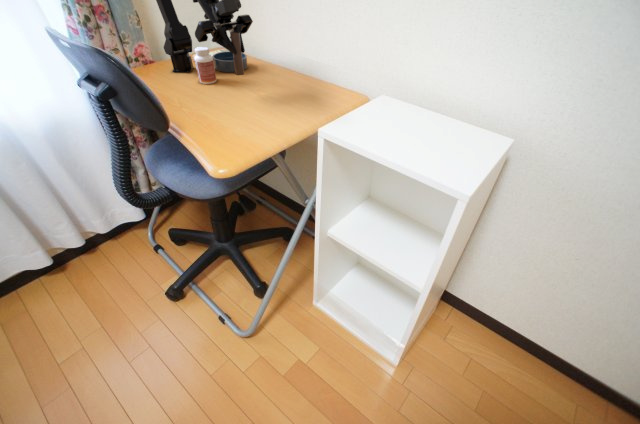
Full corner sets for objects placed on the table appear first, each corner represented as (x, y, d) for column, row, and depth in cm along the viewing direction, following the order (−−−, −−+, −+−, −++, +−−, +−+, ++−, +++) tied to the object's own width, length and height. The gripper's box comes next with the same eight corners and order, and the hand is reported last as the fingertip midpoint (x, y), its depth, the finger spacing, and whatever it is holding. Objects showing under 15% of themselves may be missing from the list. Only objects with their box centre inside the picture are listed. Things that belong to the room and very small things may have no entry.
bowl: (211, 72, 120) (209, 60, 117) (217, 62, 130) (215, 50, 127) (245, 73, 121) (244, 61, 118) (249, 63, 131) (248, 51, 128)
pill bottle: (220, 81, 114) (214, 48, 107) (206, 85, 110) (200, 52, 103) (209, 77, 117) (203, 45, 109) (195, 81, 113) (188, 48, 105)
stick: (234, 75, 100) (229, 33, 92) (236, 72, 102) (230, 31, 94) (243, 75, 100) (238, 33, 92) (244, 72, 102) (240, 31, 94)
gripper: (191, -14, 82) (224, 41, 84) (245, -17, 93) (273, 31, 95) (181, 16, 90) (212, 65, 93) (232, 9, 101) (258, 53, 104)
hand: (240, 53), depth 96 cm, fingers closed on stick, 3 cm apart
